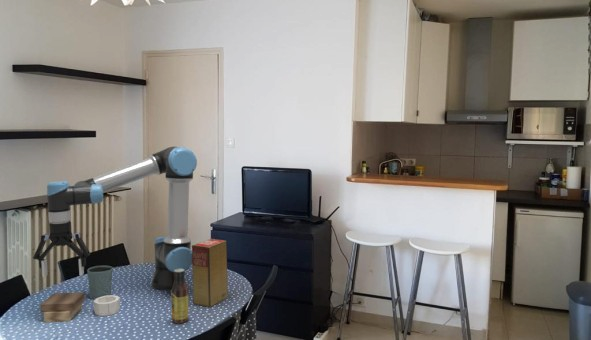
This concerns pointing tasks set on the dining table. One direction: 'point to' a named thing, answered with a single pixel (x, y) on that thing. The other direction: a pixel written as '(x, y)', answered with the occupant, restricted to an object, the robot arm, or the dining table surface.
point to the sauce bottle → (179, 297)
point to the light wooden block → (60, 315)
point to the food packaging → (209, 272)
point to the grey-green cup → (100, 281)
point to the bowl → (106, 305)
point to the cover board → (62, 302)
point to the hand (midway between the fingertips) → (63, 275)
